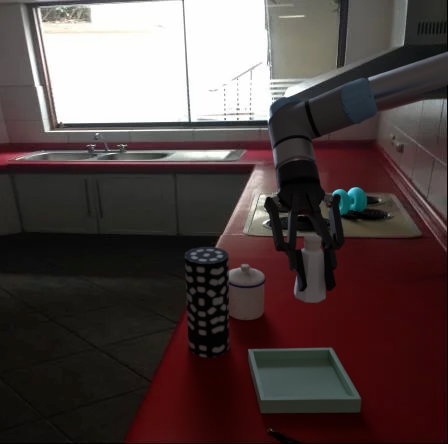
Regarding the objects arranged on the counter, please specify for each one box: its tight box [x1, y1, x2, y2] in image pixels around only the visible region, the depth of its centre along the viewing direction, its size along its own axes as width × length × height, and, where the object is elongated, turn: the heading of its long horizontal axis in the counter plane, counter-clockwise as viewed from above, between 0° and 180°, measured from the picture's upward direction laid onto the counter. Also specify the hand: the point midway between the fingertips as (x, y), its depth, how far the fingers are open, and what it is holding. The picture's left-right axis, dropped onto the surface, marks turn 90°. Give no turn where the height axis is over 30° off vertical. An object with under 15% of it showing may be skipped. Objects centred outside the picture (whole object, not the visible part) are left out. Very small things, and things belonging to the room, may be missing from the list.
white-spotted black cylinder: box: [184, 246, 230, 359], centre depth 82 cm, size 8×8×20 cm
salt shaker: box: [293, 233, 327, 304], centre depth 71 cm, size 5×5×11 cm
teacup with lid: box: [229, 263, 267, 321], centre depth 96 cm, size 12×9×12 cm
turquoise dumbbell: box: [331, 187, 368, 216], centre depth 161 cm, size 10×10×10 cm
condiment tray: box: [247, 347, 362, 414], centre depth 73 cm, size 16×14×3 cm
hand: (317, 288), depth 68 cm, fingers closed on salt shaker, 4 cm apart
